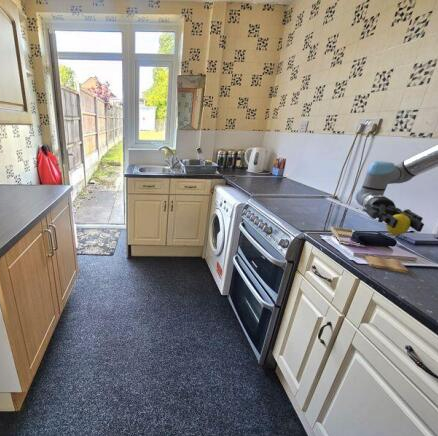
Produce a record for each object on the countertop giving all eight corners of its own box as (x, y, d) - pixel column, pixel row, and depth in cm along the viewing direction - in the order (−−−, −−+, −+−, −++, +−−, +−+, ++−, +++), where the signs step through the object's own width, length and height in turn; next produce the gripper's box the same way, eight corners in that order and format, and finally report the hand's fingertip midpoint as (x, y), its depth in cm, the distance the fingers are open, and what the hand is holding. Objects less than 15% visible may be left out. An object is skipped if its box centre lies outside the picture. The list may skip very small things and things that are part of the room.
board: (396, 261, 88) (397, 259, 88) (407, 273, 82) (409, 270, 81) (362, 255, 92) (363, 253, 92) (370, 266, 85) (371, 263, 85)
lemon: (378, 233, 86) (387, 211, 83) (389, 231, 87) (398, 210, 84) (397, 239, 81) (407, 217, 78) (408, 238, 82) (418, 215, 79)
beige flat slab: (352, 232, 113) (353, 229, 112) (365, 247, 98) (366, 244, 98) (329, 228, 116) (330, 226, 115) (339, 243, 102) (340, 240, 101)
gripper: (405, 218, 95) (442, 242, 75) (347, 210, 102) (367, 231, 82) (413, 199, 92) (453, 219, 73) (352, 193, 99) (375, 210, 79)
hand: (407, 225), depth 77 cm, fingers closed on lemon, 5 cm apart
